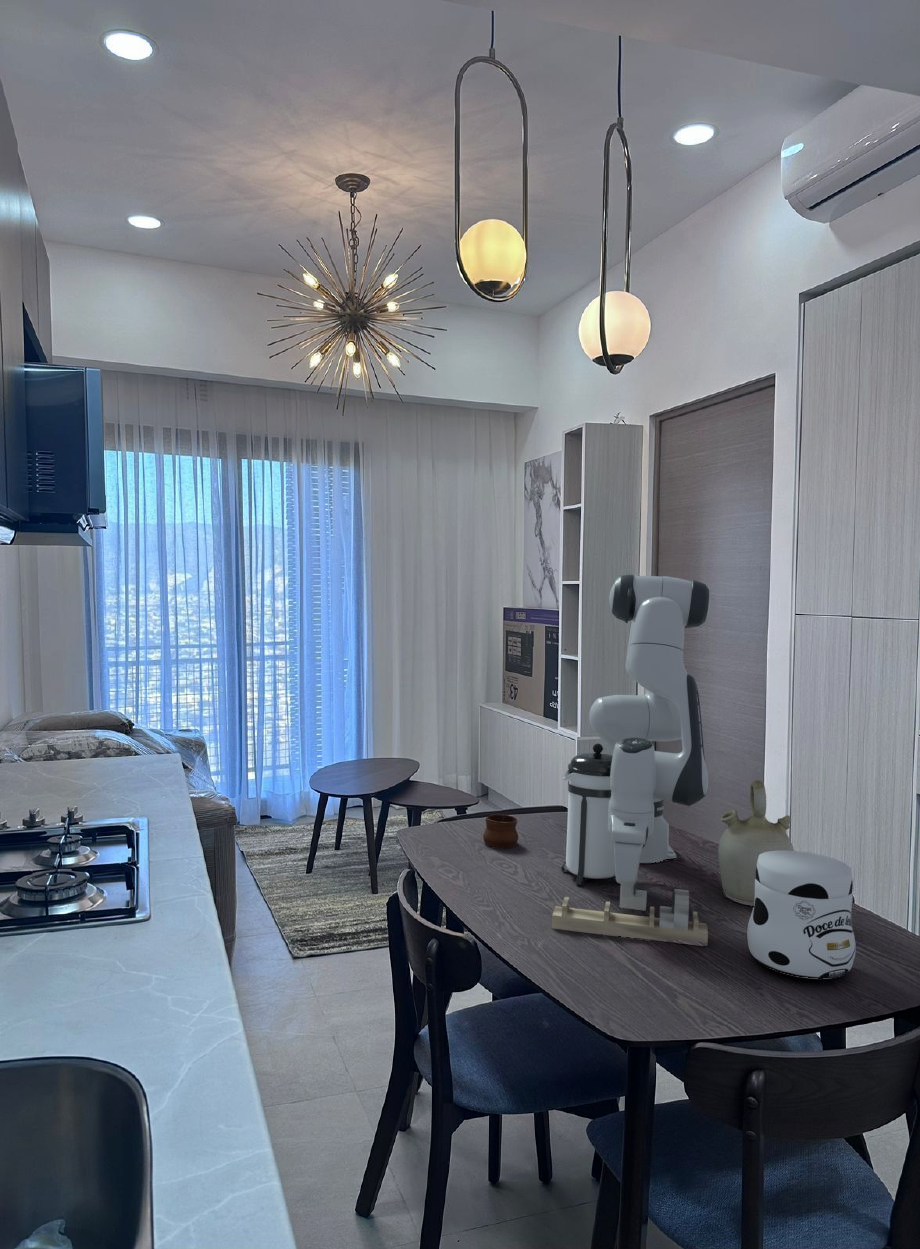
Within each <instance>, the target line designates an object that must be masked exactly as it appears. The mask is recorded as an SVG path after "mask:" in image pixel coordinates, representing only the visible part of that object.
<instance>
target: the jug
mask: <svg viewBox="0 0 920 1249" xmlns="http://www.w3.org/2000/svg"><path fill="white" fill-rule="evenodd" d="M766 791H767V790H766V787H765V784H764V782H763V781H761V780H753V781H752V782H751V785H750V790H749V794H750V797H749V798H750V799H749V802H750V803H749V804H750V812H751V814H750V816H749V817H747V818H746V819H739V815H738V811H737V810H736V809H731V810H728V811H727V812H725V813H724V814H723V815H721V817H720V821H721V822H723V823H725V824H726V825H727V826H728V827H726V828H725V830H724V831H723V833H722V835H721V837H720V840H719V843H718V850H717V852H718V854H717V855H718V856H717V857H718V865H719V872H720V879H721V885H722V889H723V893H724V892H725V894H727V895H729V896H730V897H733V898H736V899H739V900H742V901H748V902H754V900H755V879H756V867H757V861H758V857H759V855H760V854H762V853H764V852H768V851H775V850H790V851H795V849H794V845H793V842H792V840H791V839H790V837H789V835H788V833H787V830H789V829H791V826H790V825H791V821H792V818H791V816H790V815H789V814H788V815H785V816H783V817H781V818H777V822H775V823H774V822H771V821H769V820H768V818H767V817H766V813H767V793H766Z"/></svg>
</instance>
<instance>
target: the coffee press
mask: <svg viewBox="0 0 920 1249" xmlns="http://www.w3.org/2000/svg"><path fill="white" fill-rule="evenodd" d="M592 751H593V752H588V753H587V752H584V753H579V754H577V755H575V756H574V757H572V758H571V760H570V763H568V765H567V770H566V771H565V773H564V774H563V777H562V780H563V781H567V791H568V799H567V800H568V801H567V802H568V803H567V824H566V825H567V828H566V829H567V830H566V848H565V850H566V851H565V852H566V853H565V861H564V863H563V864H562V866H561V867H560V870H561V871H562V873H567V872H570V873H572V874H573V875H576V879H575V885H576V886H579V887H583V886H584V885H585V882H586V880H587V879H597V880H598V879H602V880H603V879H608V878H609V879H610V878H612V879H613V880H614V881H615V883H616V884H617V883H618V882H617V881H616V875H615V858H614V841H612V840H611V833H610V831H609V830H608V810H609V801H610V798H611V788H610V771H611V763H612V757H613V754H612V755H611V754H608V753H602V752H603V751H604V747H603V745H602V744H601V743H595V744H593V746H592ZM646 841H647V840H646ZM645 844H646V843H645ZM645 844H644V845H643V848H644V846H645ZM643 848H642V849H643ZM565 866H566V868H567V870H566V869H565ZM617 885H619V883H618V884H617Z"/></svg>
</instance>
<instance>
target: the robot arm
mask: <svg viewBox="0 0 920 1249" xmlns="http://www.w3.org/2000/svg"><path fill="white" fill-rule="evenodd" d="M608 601H609V607H610V610H611V614H612V615H613V616H614V617H615V618H616V619H618V620H620V621H622V622H624V623H625V624H628V623H629V622H631V626H630V629H629V630H630V631H629V636H628V642H627V643H628V644H627V651H626V660H625V671H626V673H627V674H628V676H629V678H631V679H632V680H633V681H635V682H636V683H637V684H639V685H640V686H641V687H642V688H644V689H646V690H645V694H642V695H639V694H638V695H637V694H612V695H606V696H601V697H598V698H596V700H595V701H594V702H593V704H592V705H591V707H590V710H589V713H588V714H589V716H588V718H589V726H590V727H591V730H592V731H593V733H594V734H595V735H596V736H597V737H598V738H600V739H601V740H602V741H603V742H604V743H605V744H606V745H607V747H608V748H609V750H610V752H611V754H612V756H613V757H612V763H611V771H610V788H611V798H610V801H609V810H608V830H609V831H610V833H611V840H612V841H614V858H615V876H616V881H617V882H618V883H622V896H623V897H628V898H630V897H631V892H632V885H634V884H635V883H636V884H637V882H636V880H637V879H638V874H639V868H640V864H652V863H654V864H655V862H656V863H660V861H661V862H664V861H663V860H664V859H668V858H669V859H670V858H676V859H677V854H676V853H675V851H674V849H673V848H672V847H671V846H670V844H669V842H670V838H669V837H670V824H669V823H668V821H667V820H666V819H665V817H664V811H665V810H664V808H665V803H664V802H665V801H667V802H672V803H675V804H679V805H683V806H687V807H691V806H693V805H695V804H697V803H699V802H700V801H701V800H702V799H704V798H705V797H706V795H707V791H708V788H709V775H708V774H709V772H708V768H707V764H706V757H705V751H704V750H705V748H704V736H703V726H702V712H701V704H700V695H699V694H700V693H699V687H698V685H697V681H696V679H695V678H694V676H692V675H690V674H689V673H688V671H687V670H686V666H685V663H684V646H685V629H690V628H691V629H692V628H698V627H701V625H703V624H705V623H706V620H707V619H708V617H709V615H710V614H711V613H710V612H711V609H712V597H711V594H710V589H709V587H708V586H707V584H705V583H704V582H701V581H699V580H695V579H692V580H687V579H683V578H680V577H672V576H668V575H667V576H665V575H662V576H658V575H657V576H656V575H634V574H624V575H620V576H619V577H617V578H616V579H615V581H614V583H613V585H612V586H611V589H610V591H609V595H608ZM678 740H681V746H682V747H681V748H682V750H681V751H680V752H677V753H674V752H668V751H667V752H666V751H660V750H659V751H658V750H655V747H654V744H653V742H672V741H678ZM646 840H647V841H646ZM645 843H646V844H645ZM644 844H645V846H644V848H643V845H644ZM642 848H643V849H642ZM616 881H615V882H616ZM617 882H616V883H617Z"/></svg>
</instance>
